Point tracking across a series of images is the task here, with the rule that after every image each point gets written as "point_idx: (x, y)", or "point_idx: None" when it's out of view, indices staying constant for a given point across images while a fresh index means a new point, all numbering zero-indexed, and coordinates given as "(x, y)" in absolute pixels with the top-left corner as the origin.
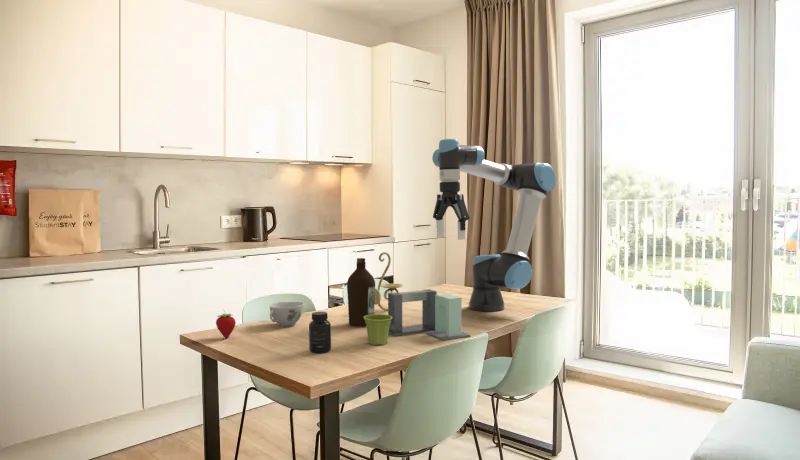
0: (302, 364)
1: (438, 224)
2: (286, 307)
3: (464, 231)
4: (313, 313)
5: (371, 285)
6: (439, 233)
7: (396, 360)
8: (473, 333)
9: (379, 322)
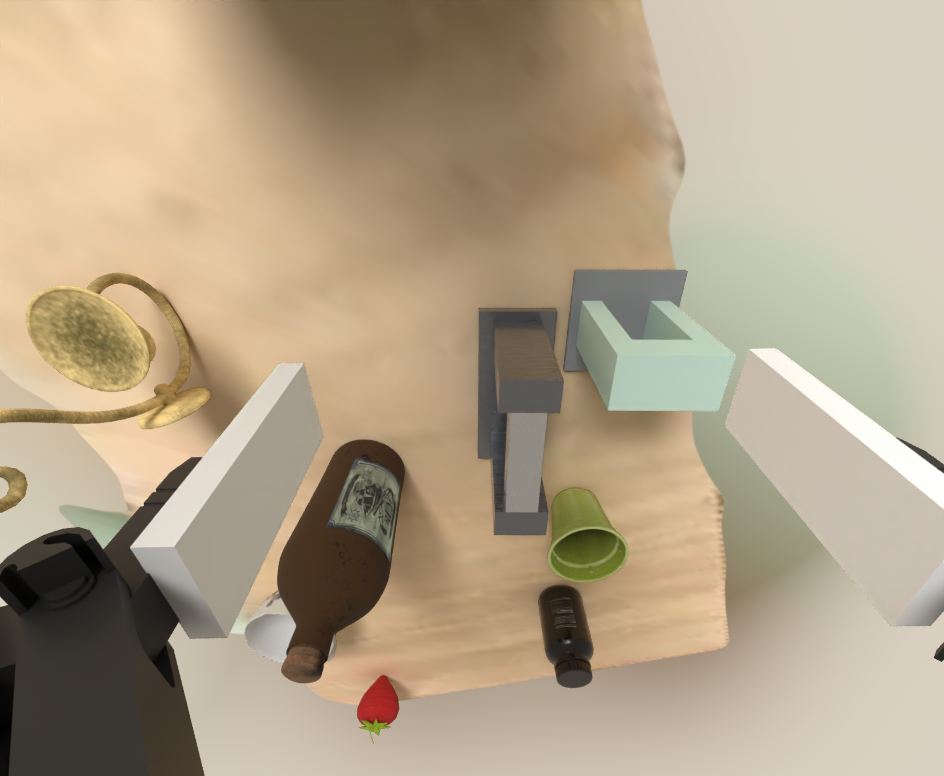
0: (620, 633)
1: (258, 562)
2: (331, 649)
3: (844, 411)
4: (570, 686)
5: (382, 556)
6: (303, 450)
7: (717, 524)
8: (659, 231)
9: (618, 558)
